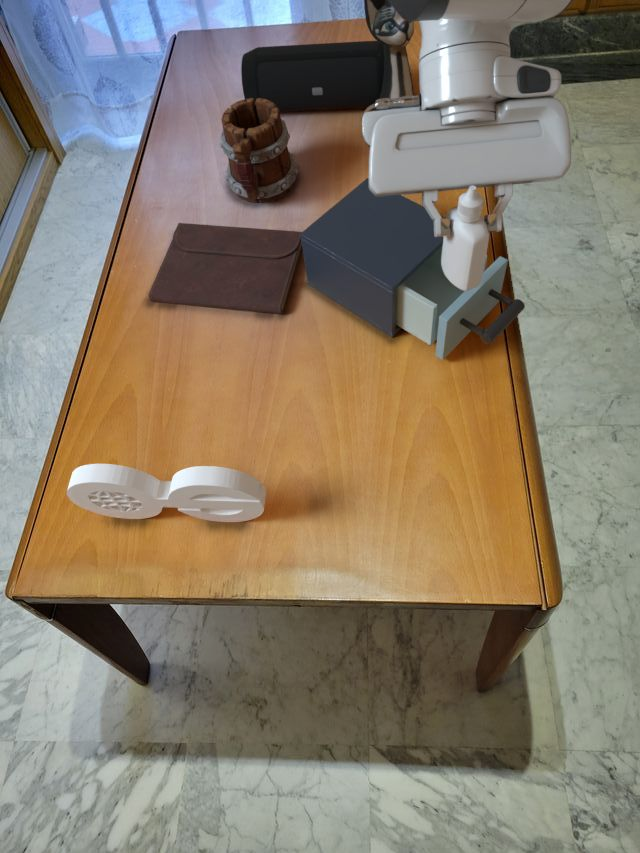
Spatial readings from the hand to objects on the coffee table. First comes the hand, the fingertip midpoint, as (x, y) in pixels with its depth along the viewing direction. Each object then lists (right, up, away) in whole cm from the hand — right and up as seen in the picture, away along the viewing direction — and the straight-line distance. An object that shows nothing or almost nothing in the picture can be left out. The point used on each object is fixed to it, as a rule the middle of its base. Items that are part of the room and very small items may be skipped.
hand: (467, 234), depth 67 cm
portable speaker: (-15, +37, +46) cm, 61 cm away
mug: (-25, +18, +36) cm, 48 cm away
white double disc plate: (-32, -30, +8) cm, 45 cm away
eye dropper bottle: (+1, -3, +6) cm, 7 cm away
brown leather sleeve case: (-29, +3, +28) cm, 40 cm away
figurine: (-3, +29, +41) cm, 50 cm away
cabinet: (-7, 0, +24) cm, 25 cm away
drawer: (+1, -5, +19) cm, 19 cm away
